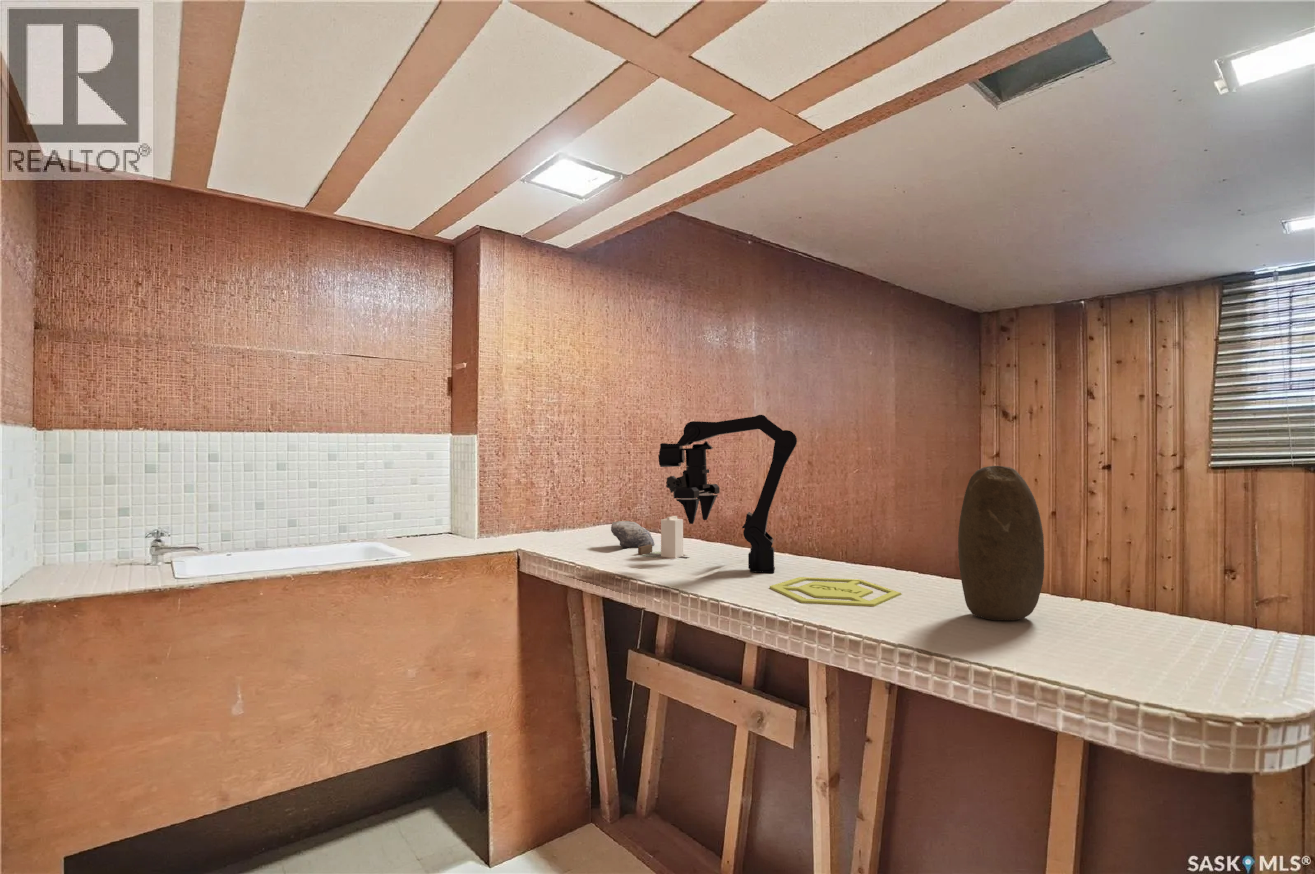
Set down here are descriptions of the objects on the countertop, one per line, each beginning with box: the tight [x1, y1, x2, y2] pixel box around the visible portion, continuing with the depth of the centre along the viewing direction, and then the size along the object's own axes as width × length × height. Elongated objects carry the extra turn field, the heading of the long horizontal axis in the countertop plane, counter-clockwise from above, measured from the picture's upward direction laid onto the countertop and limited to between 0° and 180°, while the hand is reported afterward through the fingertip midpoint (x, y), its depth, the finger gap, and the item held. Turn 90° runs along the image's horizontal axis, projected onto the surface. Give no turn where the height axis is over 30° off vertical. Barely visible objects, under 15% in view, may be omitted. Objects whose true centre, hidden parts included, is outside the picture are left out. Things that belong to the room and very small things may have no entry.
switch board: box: [637, 545, 691, 561], centre depth 190 cm, size 17×10×4 cm, turn 57°
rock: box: [610, 520, 656, 550], centre depth 212 cm, size 11×17×10 cm, turn 40°
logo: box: [769, 576, 903, 608], centre depth 148 cm, size 26×1×30 cm
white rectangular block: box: [660, 515, 684, 559], centre depth 188 cm, size 5×4×12 cm
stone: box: [957, 465, 1045, 621], centre depth 125 cm, size 13×15×30 cm
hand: (698, 521), depth 177 cm, fingers open, 9 cm apart
